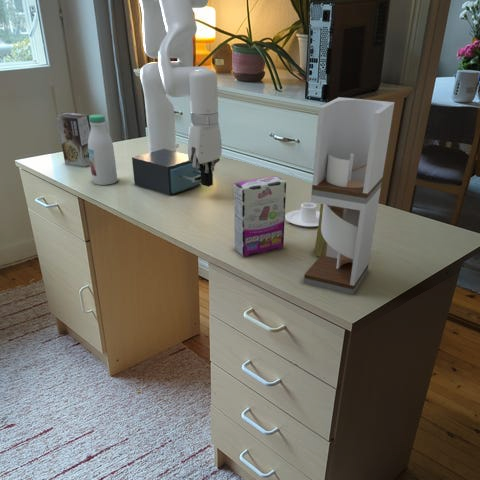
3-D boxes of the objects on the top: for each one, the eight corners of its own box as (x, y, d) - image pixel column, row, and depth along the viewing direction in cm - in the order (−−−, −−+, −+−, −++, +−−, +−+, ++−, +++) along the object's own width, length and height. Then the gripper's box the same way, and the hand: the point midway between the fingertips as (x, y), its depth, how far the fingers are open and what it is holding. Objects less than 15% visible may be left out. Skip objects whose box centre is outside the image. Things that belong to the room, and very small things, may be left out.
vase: (311, 248, 124) (317, 190, 116) (337, 248, 125) (343, 190, 117) (317, 259, 119) (323, 200, 111) (343, 259, 119) (351, 199, 112)
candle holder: (277, 215, 142) (278, 200, 140) (315, 209, 146) (316, 194, 144) (298, 231, 133) (299, 215, 130) (338, 225, 137) (340, 209, 134)
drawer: (216, 187, 159) (216, 165, 155) (189, 197, 151) (187, 174, 147) (169, 174, 170) (167, 153, 166) (140, 183, 162) (138, 161, 158)
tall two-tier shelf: (321, 261, 118) (338, 97, 99) (367, 271, 114) (394, 102, 95) (303, 282, 110) (319, 107, 91) (352, 294, 106) (379, 113, 87)
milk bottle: (120, 178, 168) (113, 113, 158) (113, 186, 162) (105, 118, 151) (97, 177, 169) (88, 112, 158) (89, 185, 163) (79, 118, 152)
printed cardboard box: (96, 162, 183) (90, 114, 175) (84, 167, 178) (77, 118, 170) (76, 159, 187) (68, 112, 178) (64, 163, 182) (55, 115, 173)
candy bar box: (273, 241, 128) (276, 175, 119) (284, 248, 124) (288, 181, 115) (232, 249, 123) (232, 181, 114) (242, 257, 120) (243, 188, 111)
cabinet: (200, 184, 164) (199, 157, 159) (169, 195, 155) (167, 167, 150) (165, 175, 172) (163, 148, 167) (134, 185, 163) (131, 157, 158)
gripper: (211, 114, 150) (213, 177, 160) (175, 122, 140) (180, 188, 150) (232, 117, 146) (232, 181, 156) (196, 125, 136) (199, 193, 146)
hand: (207, 185), depth 153 cm, fingers closed
